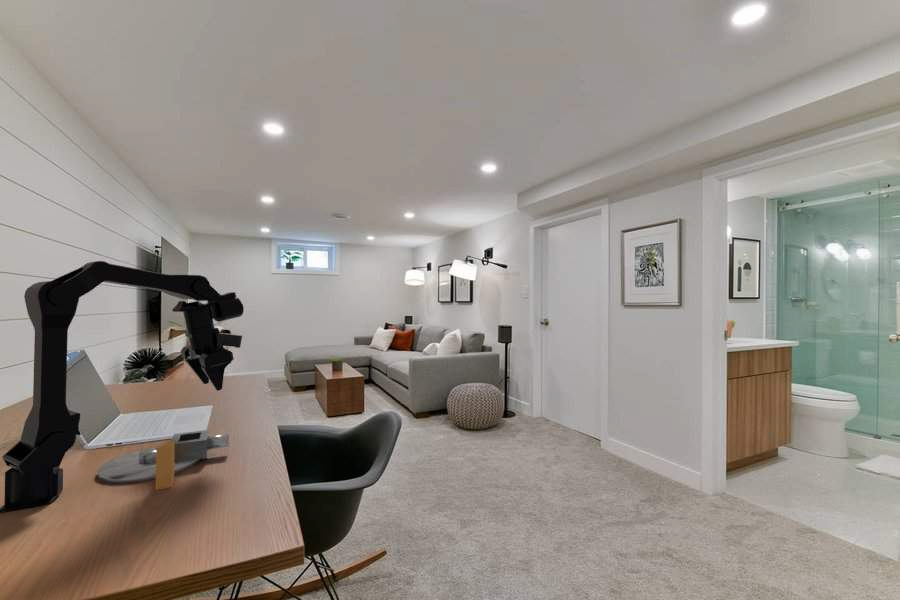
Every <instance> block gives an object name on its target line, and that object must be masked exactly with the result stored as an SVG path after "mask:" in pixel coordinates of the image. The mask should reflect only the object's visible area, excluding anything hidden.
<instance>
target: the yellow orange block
mask: <svg viewBox="0 0 900 600" xmlns="http://www.w3.org/2000/svg"><path fill="white" fill-rule="evenodd" d="M174 449H175V440H171V439H169V440H164V441H158V444H157V445H156V479H155V491H157V489H158V490H162V489H163V488H164V489H169V487H170V488H172V487H173V484H174V481H175V473H174Z"/></svg>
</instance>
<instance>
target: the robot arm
mask: <svg viewBox="0 0 900 600" xmlns="http://www.w3.org/2000/svg"><path fill="white" fill-rule="evenodd" d="M102 283H107V284H108V283H109V284H115V285H121V286H128V287H133V288H142V289H147V290H154V291H159V292H163V293H165V294H166V295H169V296H172V297H175V298H177V299H178V298H179V299H181V300H178V302H177V304H176V305H175V306H174V307H173V308H172V309H171V311H172V312H174V313H183V316H184V322H185V327H186V328H185V329H186V332H184V334H185V337H186V338H187V337H188V342H189V345H185V346H184V345H183V347H182V348H181V350H180V355H181V358H182V359H184V362H185V363H186V364H187V365H188V366H189V368H190V369H191V371H193V372H194V373H195V375H196V376H197V377H198V378H199V379H200V382H201V383H202V384H203V385H207V384H209V383H210V382H211V384H212V386H213V388H214V389H215V390H216V391H217V392H218V391H222V390H223V386H224V385H223V383H224V375H225V370H226V368H227V367H228V366H229V365H230V364H232V362H233V361H234V360H235V359H234V358H235V357H234V355H233V352H232V351H231V350H229V349H226V348H224V347H231V348H232V347H234V348H239V349H240V348H241V346H242V339H243V335H241V334H236V333H232V332H231V330H230V329H227V328H225V329H223V328H222V329H218V328H217V327H215V324H214V321H215V322H218V323H219V322H220V323H221V322H224V321H229V320H231V319H237V318H240V317H242V316H243V314H244V304H243V303H242V301H241V299H240V298H239V297H237V293H236V292H235V291H231V292H226V293H224V294H220V293H219V292H218V291H217V290H216V289H215V288H214V287H213V286H212V285H211V284H210V281H209V280H208V277H206V276H204V275H201V274H167V273H162V272H156V271H151V270H146V269H140V268H134V267H129V266H123V265H119V264H118V265H117V264H113V263H110V262H107V261H103V260H98V261H97V260H96V261H89V262H87V263H85V264H84V265H82V266H80V267H78V268H77V269H74V270H72V271H70V272H68V273H65V274H63V275H61V276H59V277H57V278H54V279H53V280H48V281H38V282H36V283H33V284H31V285H30V286H28V287H27V288H26V289H25V292H24V303H25V307H26V312H27V315H28V318H29V320H30V322H31V324H32V326H33V330H34V342H33V343H34V346H33V347H34V349H33V350H34V352H33V353H34V354H33V384H32V385H33V389H32V390H33V391H32V407H31V409H30V411H29V413H28V414H27V417H26V419H25V421H24V425H23V429H22V432H21V436H20V440H18V442H17V443H15V444H14V445H13V446H12V447H11V448H10V449H9V450H8V451H6V452H5V453H4V454H3V455H2V457H1V458H2V460H3V462H4V463H5V465H6V467H10V468H9V469H8V470H6V471H5V472H4V496H3V497H4V498H3V499H4V502H3V503H4V504H3V505H2V506H0V513H1V512H8V511H14V510H19V509H26V508H32V507H36V506H37V507H38V506H45V505H48V504H51V503H52V502H53V501H54V500H55V499H56V498H57V497H58V495H59V494H60V493H61V492H62V491H63V490H64V469H63V468H62V467H61V468H60V466H61V464H62V461H63V459H64V457H65V456H66V453H67V452H68V451H69V450H70V449H71V448H72V447H74V445H75V443H76V440H77V436H81V435H82V433H81V431H80V428H79V426H80V421H81V413H80V412H78V411H77V412H76V411H73V410H70V409H69V408H68V406H67V379H68V378H67V372H68V371H67V370H68V337H69V336H68V335H69V333H68V331H69V328H70V325H71V323H72V322H73V319H74V317H75V315H76V312H77V308H78V305H79V301H80V298H81V297H82V296H85V295H86V294H89V292H91V291H93V290H94V289H95V288H96V287H98V286H100V284H102ZM185 300H194V301H191V302H187V301H185ZM202 302H207V303H202Z"/></svg>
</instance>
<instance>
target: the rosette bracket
mask: <svg viewBox="0 0 900 600" xmlns="http://www.w3.org/2000/svg"><path fill="white" fill-rule="evenodd" d="M209 434H210V429H204V430H195V431H188V432H180V433H174V434H173V435H172V437H171V439H170V440H175V449H174V474H177V473H180V472H182V471H184V469H185V470H187V469H189V468H190V467H193V466H194V465H196V464H197V463H198V462H200V460H202V459H206V458H207V457H208V454H209V453H208V452H209V451H211V450H218V449H222V448H223V449H224V448H229V445H230V444H229V443H230V442H229V441H230V439H229V437H230V434H229V433H224V434H216V436H209ZM156 447H157V446H156ZM156 447H150V448H144V449H143V450H139V451H138V450H137V451H133V452H130V453H127V454H124V455H121V456H118V457H116V458H112V459H111V460H109V461H107V462H105V463H103V464H102V465H101V466H99V467H98V470H97V478H98V480H99V481H101V482H104V483H110V484H129V483H128V482H131V483H137V482H136V481H140V482H144V480H146V481H150V480H149V479H151V480H156V479H155V478H156ZM186 468H187V469H186ZM179 471H180V472H179Z"/></svg>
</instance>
